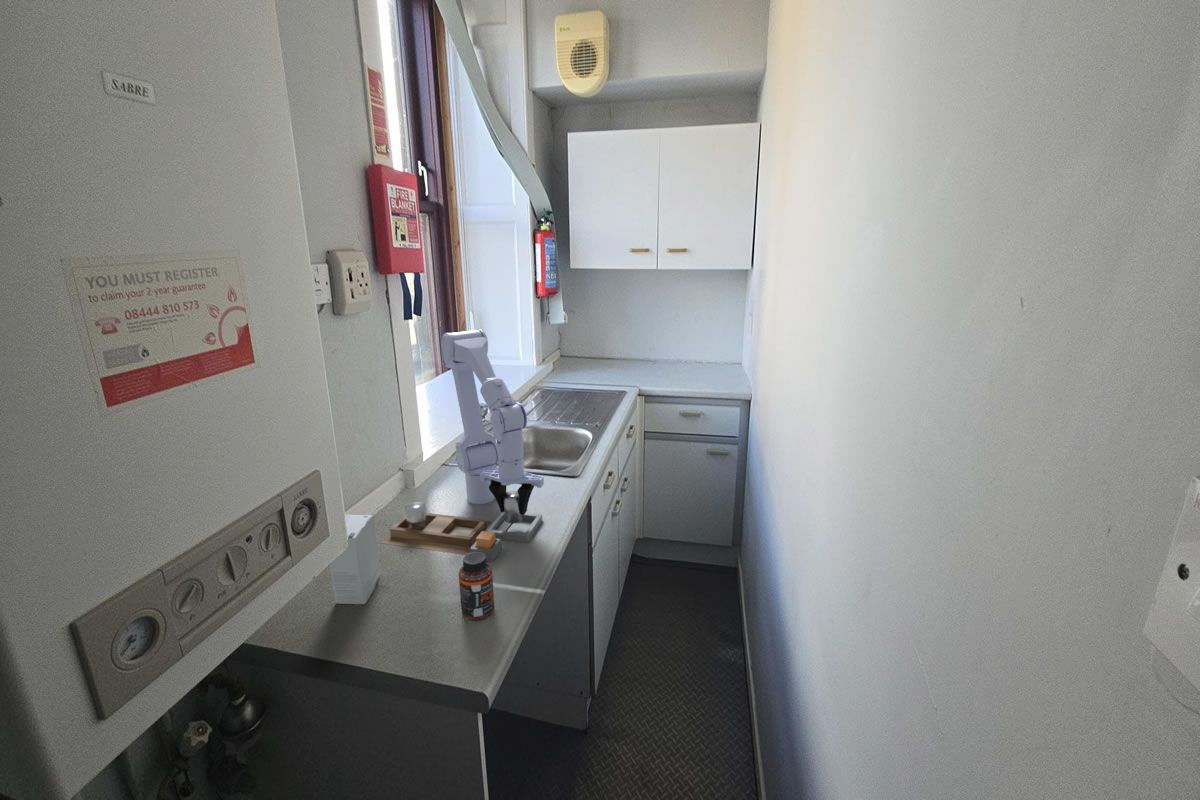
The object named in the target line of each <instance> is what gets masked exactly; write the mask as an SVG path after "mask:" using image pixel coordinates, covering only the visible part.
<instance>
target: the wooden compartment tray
mask: <svg viewBox="0 0 1200 800" xmlns="http://www.w3.org/2000/svg"><path fill="white" fill-rule="evenodd" d="M426 516H427V526H426V527H425V528H424V529H423V530H414V529H408V528H407V520H406V514H405V515H404V516H403V517H401V519H399V521H397V522H396V523H394V524H393V525H392V526H391V527H390V528H389V535H388V536H386V537H385V538H384V539H383V540H381V542H380V544H385V545H392V546H399V547H407V548H414V549H421V550H427V551H434V552H435V551H436V552H441V553H442V552H443V553H444V552H445V553H449V554H450V553H451V554H456V555H457V554H458V555H464V556H465V555H467V554H469V553H471V552H470V548H471V547H472V546H473V545H474V543H475V542H476V538H477V536H478V535H479V534H480V533H481V532H482V531H486V530H487V529H488V528H489V526H490V525H491V524H492V523H493V522H494V521H488V520H486V519H480V518H471V517H463V516H455V515H449V514H448V515H446V514H438V513H429V512H426Z"/></svg>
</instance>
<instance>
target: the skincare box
mask: <svg viewBox="0 0 1200 800" xmlns="http://www.w3.org/2000/svg"><path fill="white" fill-rule="evenodd" d="M344 515H345V521H346V527H347V535H348V547H347V548H346V550H345V551H344V552H343V553H342V554H341V555H340V556H339V557H338V558H337V559H336V560H335V561H333V562H332V563H331V564H330V565H329V564H328V565H329V571H330V572H329V573H330V579H331V584H332V590H333V591H332V592H333V597H334V603H335V604H338V605H340V604H342V605H347V604H348V605H365V604H366V603H367V602H368V600H369V598H370V597H371V595H372V593H373V592H374V590H375V589H376V587H377V585H378V583H377V582H378V580H379V579H380V577H381V567H380V559H379V552H378V543H377V535H376V530H375V529H376V528H375V520H374V515H371V514H344Z"/></svg>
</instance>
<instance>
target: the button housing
mask: <svg viewBox="0 0 1200 800" xmlns="http://www.w3.org/2000/svg"><path fill="white" fill-rule="evenodd" d="M495 539H496V543H495V544H494V545H493V547H492V548H491V549H485V548H478V547H477V544H476V542H475V543H474V545H473V546H472V547H471V548H470V553H472V552H481V553H483V554H485V556H486V562H492V563H493V562H494V561H495V560H496V559H497V557H498V556H499V554H500V553H501V552H502V551H503V540H502V539H500V538H499V537H495Z"/></svg>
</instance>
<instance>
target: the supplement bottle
mask: <svg viewBox="0 0 1200 800" xmlns="http://www.w3.org/2000/svg"><path fill="white" fill-rule="evenodd" d="M493 581H494V580H493V569H492V566H491V565H490V564H489V562H488V561H486V556H485V554H483V553H481V552H472V553H471V552H470V553H469V554H467V555H464V556H463V558H462V566H461V567H460V568H459V570H458V584H459V596H460V606H461V607H460V608H461V613H462V616H463V617H464V618H465V619H466V620H470V621H480V620H483V619H486V618H488V617H489V616H490V615H492V613H493V612H494V610H495V597H494V595H495V594H494V582H493Z"/></svg>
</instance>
